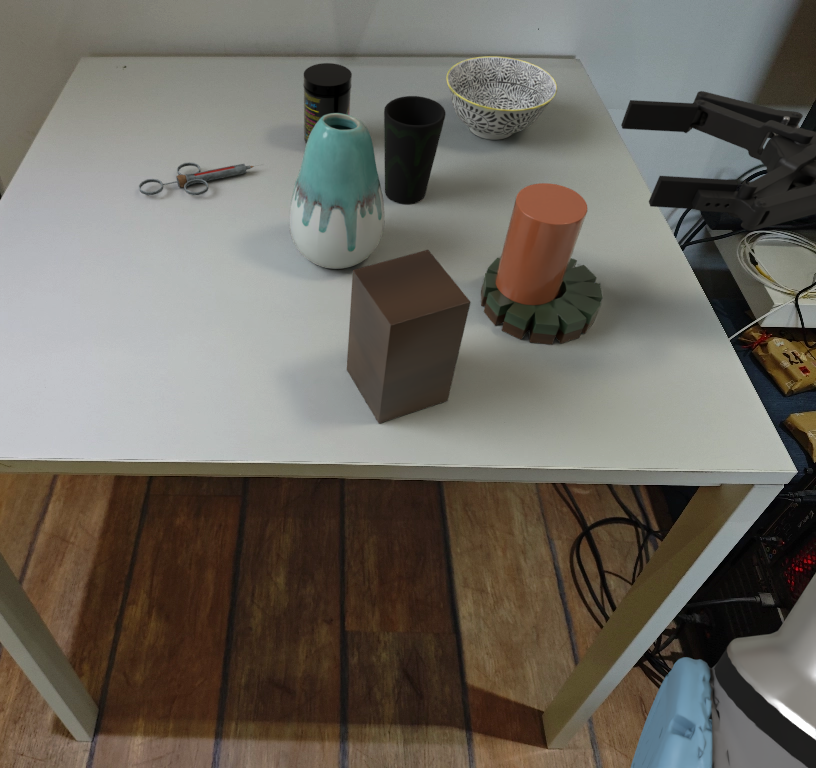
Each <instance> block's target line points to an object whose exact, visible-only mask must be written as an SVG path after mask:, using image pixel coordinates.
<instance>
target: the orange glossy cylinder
mask: <svg viewBox="0 0 816 768" xmlns="http://www.w3.org/2000/svg"><path fill="white" fill-rule="evenodd" d="M588 210H589V209H588V204H587V202H586V200H585V198H584V197H583V196H582V195H581V194H580V193H578V192H577V191H575V190H573V189H572V188H570V187H567V186H564V185H562V184H561V185H560V184H555V183H548V182H542V183H541V182H539V183H533V184H529V185H526V186H525V187H523V188H522V189H520V190H519V191H518V193H517V194H516V196H515V201H514V204H513V208H512V213H511V215H510V220H509V222H508V223H509V224H508V227H507V231H506V235H505V238H504V243H503V247H502V250H501V255H500V257H499V258H500V262H499V266H498V270H497V273H496V278H495V282H496V286H497V288H498V290H499V291H500V292H501V293H502V294H503V295H504V296H505V297H507V298H508V299H510V300H512V301H514V302H517V303H521V304H525V305H541V304H545V303H548V302H550V301H552V300H554V299H555V297H556V296H557V295H558V293H559V290H560V287H561V284H562V282H563V279H564V276H565V273H566V270H567V267H568V265H569V262H570V259H571V258H572V256H573V253H574V250H575V247H576V245H577V241H578V239H579V236H580V233H581V231H582V229H583V225H584V222H585V219H586V216H587V214H588Z"/></svg>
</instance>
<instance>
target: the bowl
mask: <svg viewBox="0 0 816 768" xmlns="http://www.w3.org/2000/svg"><path fill="white" fill-rule="evenodd" d="M445 78H446V84H447V87H448V89H449V94H450V99H451V103H452V107H453V110H454V111H455V114H456V116H457V117H458V118H459V119H460V121H461V122H462V123H463V124H464V125H466V126H467V127H468V129H469V130H470V132H471V133H472V134H473V135H475V136H477V137H478V138H482V139H484V140H486V139H487V140H491V141H492V140H494V141H495V140H497V141H498V140H503V139H507V138H510V136H512V135H513V134H516V133H519V132H521V131H523V130H525V129H526V128H528V127H530V126H531V125H532V124H533V123H534V122H535V121H536V120H537V119H538V118H539V116H541V114H542V113H543V111H544V110H545V109H546V107H547V106H548V104H550V103H551V101H553V99H554V98H555V97H556V95H557V92H558V84H557V82H556V80H555V79H554V77H553V76H552V75H551V74H550V73H549V72H548V71H547V70H545V69H544V68H542V67H540V66H538V65H537V64H533V63H531V62H529V61H527V60H526V61H525V60H522V59H518V58H513V57H508V56H499V55H490V56H487V55H486V56H478V57H477V56H476V57H471V58H467V59H463V60H462V61H459V62H457V63H455V64H454V65H452V66H451V67H450V68H449V69H448V71H447V73H446V77H445Z"/></svg>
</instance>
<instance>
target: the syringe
mask: <svg viewBox="0 0 816 768" xmlns="http://www.w3.org/2000/svg"><path fill="white" fill-rule="evenodd" d="M264 165H265V163H263V164H261V166H264ZM259 166H260V164H258V165H256V167H259ZM184 167H195V168H197V169H198V170H197V171H196V172H193V173H185V174H184V173H182V172H180V170H181V169H182V168H184ZM254 167H255V165H246V164H245V163H240V164H239V163H238V164H234V165H229V166H224V167H218V168H214V169H208V170H203V171H201V166H200V165H199V164H198V163H196V162H190V161H189V162H183V163H181V164H180V165H178V166H177V168H176V173H177V175H176V178H175V179H176V180H175V181H171V182H165V183H163V182H162V181H161V180H160V179H157V178H147V179H145V180H143V181H141V182H140V183H139V184H138V190H139V193H141V194H142V195H145V196H156V195H158V194H160V193H161V192H162V191H163V190H164V186H168V185H171V184H176V183H177V186H178V188H183V189H184V192H185V193H186V194H188V195H190V196H201V195H204V194H206V193H207V192H208V191H209V189H210V187H209V183H208V181H213V180H217V179H222V178H223V179H224V178H228V177H232V176H237V175H242V174H246V173H247V171H248V170H251V169H253V168H254ZM149 183H157V184H160V188H158V189H157V190H154V191H146V190H143V189H142V187H143V186H145V185H146V184H149ZM198 183H199V184H204V185H205V186H206V187H205V188H204V189H203V190H200V191H191V190H189V189H188V188H187V187H188V186H191V185H194V184H198Z"/></svg>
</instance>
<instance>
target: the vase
mask: <svg viewBox="0 0 816 768" xmlns="http://www.w3.org/2000/svg"><path fill="white" fill-rule="evenodd" d="M371 136H372V135H371V133H370V131H369V129H368V127H367V126H366V124H365V123H364V122H363V121H362V120H361V119H359V118H357V117H355V116H353V115H351V114H350V115H346V114H341V113H331V114H327V115H324V116H322V117H321V118H320V119H319V121H318V122H317V123H316V124H315V126H314V128H313V129H312V131H311V133H310V135H309V138H308V141H307V144H306V143H305V147H304V151H303V155H302V159H301V164H300V168H299V171H298V174H297V177H296V179H295V182H294V185H293V191H292V195H291V200H290V207H289V216H288V217H289V222H288V223H289V224H288V229H289V234H290V237H291V240H292V242H293V244H294V246H295V248H296V249H297V250H298V252H299V253H300V254H301V256H303V257H304V259H306V260H307V261H309V262H310V263H312V264H314V265H316V266H319V267H321V268H326V269H334V270H337V269H338V270H339V269H347V268H352V267H354V266H357V265H359V264H361V263H363V262H364V261H366V260H367V258H369V257H370V256H371V255H372V254H373V253H374V252H375V251H376V249H377V247H378V246H379V244H380V241H381V239H382V237H383V233H384V229H385V204H384V203H385V202H384V197H383V190H382V186H381V181H380V176H379V173H378V172H379V171H378V169H377V162H376V157H375V149H374V144H373V140H372V137H371Z"/></svg>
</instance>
